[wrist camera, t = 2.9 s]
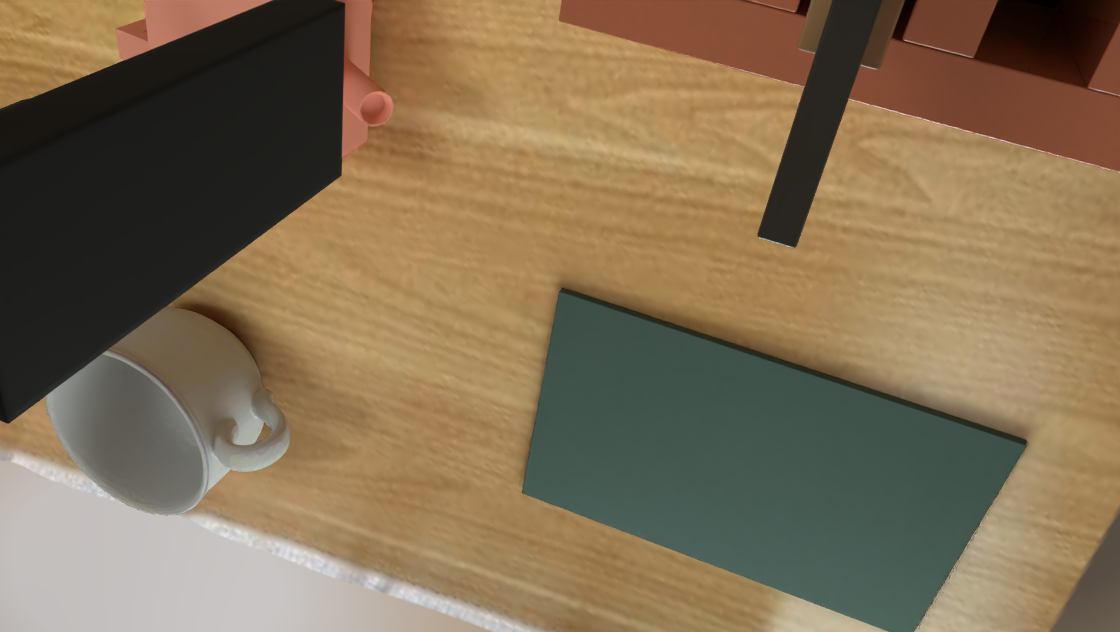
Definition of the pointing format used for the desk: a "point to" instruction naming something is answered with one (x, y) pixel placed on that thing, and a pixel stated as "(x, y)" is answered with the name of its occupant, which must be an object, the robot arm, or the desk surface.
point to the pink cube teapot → (195, 3)
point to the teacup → (168, 413)
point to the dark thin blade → (824, 102)
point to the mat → (759, 463)
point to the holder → (922, 61)
